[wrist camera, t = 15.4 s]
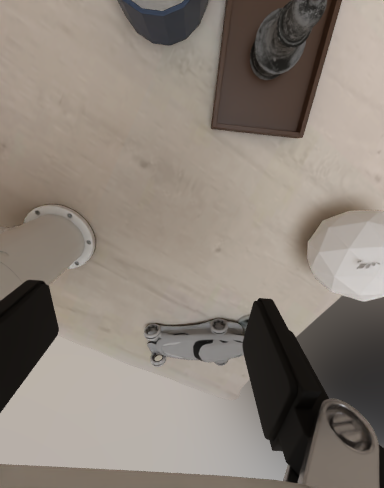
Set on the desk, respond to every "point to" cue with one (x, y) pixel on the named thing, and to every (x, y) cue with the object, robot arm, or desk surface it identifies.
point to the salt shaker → (284, 37)
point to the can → (165, 20)
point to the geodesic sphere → (350, 254)
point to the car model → (196, 341)
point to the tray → (267, 91)
